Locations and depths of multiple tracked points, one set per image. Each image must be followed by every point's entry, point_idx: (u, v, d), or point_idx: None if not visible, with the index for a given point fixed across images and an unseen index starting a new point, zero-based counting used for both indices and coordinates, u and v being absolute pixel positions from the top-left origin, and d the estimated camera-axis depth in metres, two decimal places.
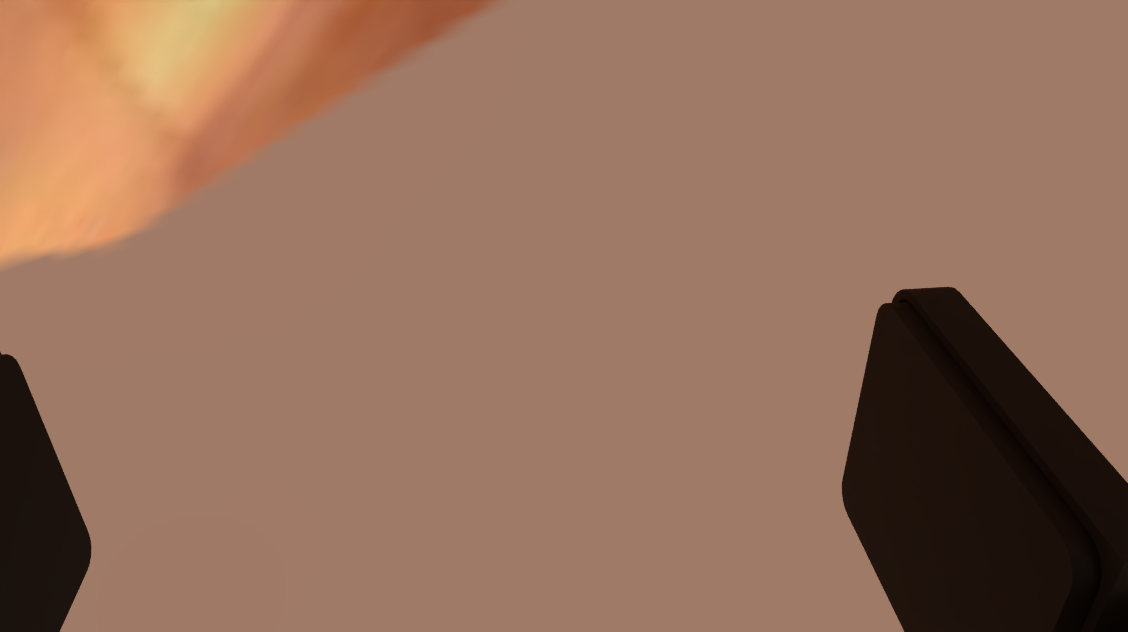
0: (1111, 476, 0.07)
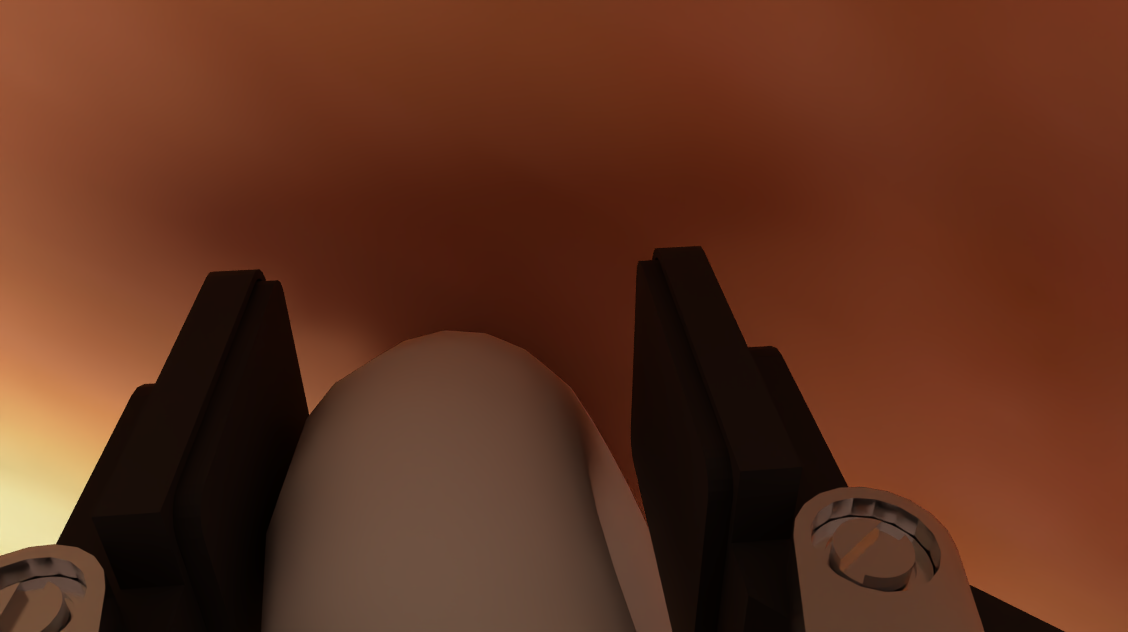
0: (765, 402, 0.08)
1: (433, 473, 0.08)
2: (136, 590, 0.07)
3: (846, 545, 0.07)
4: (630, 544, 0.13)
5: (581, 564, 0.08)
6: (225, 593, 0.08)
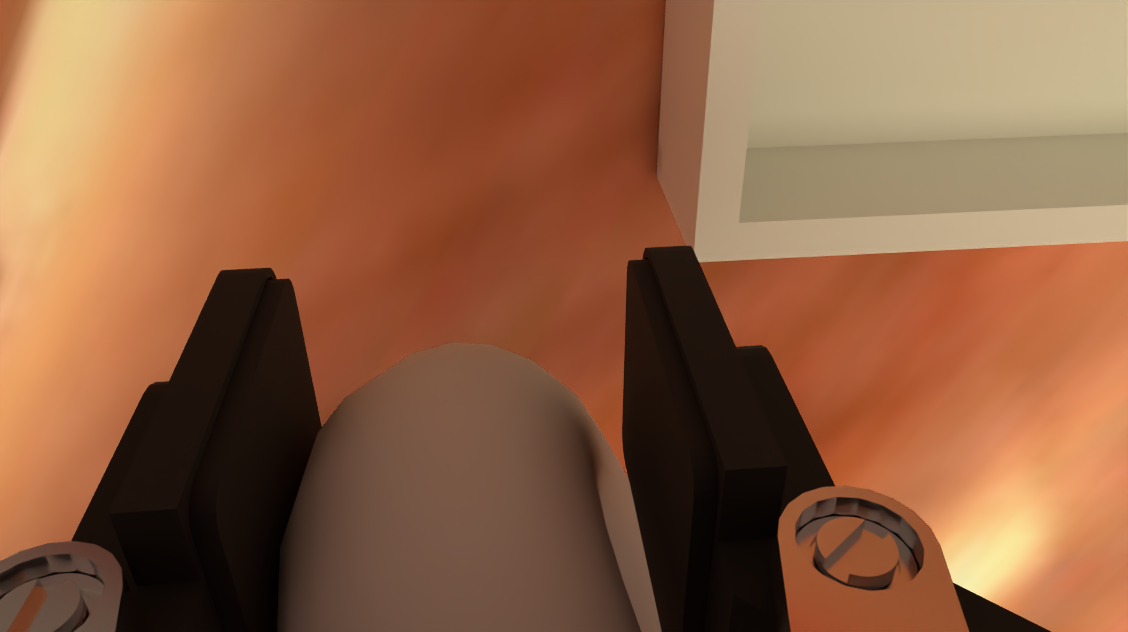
0: (752, 401, 0.08)
1: (444, 487, 0.08)
2: (152, 586, 0.07)
3: (831, 544, 0.07)
4: (638, 550, 0.13)
5: (590, 576, 0.08)
6: (240, 590, 0.08)
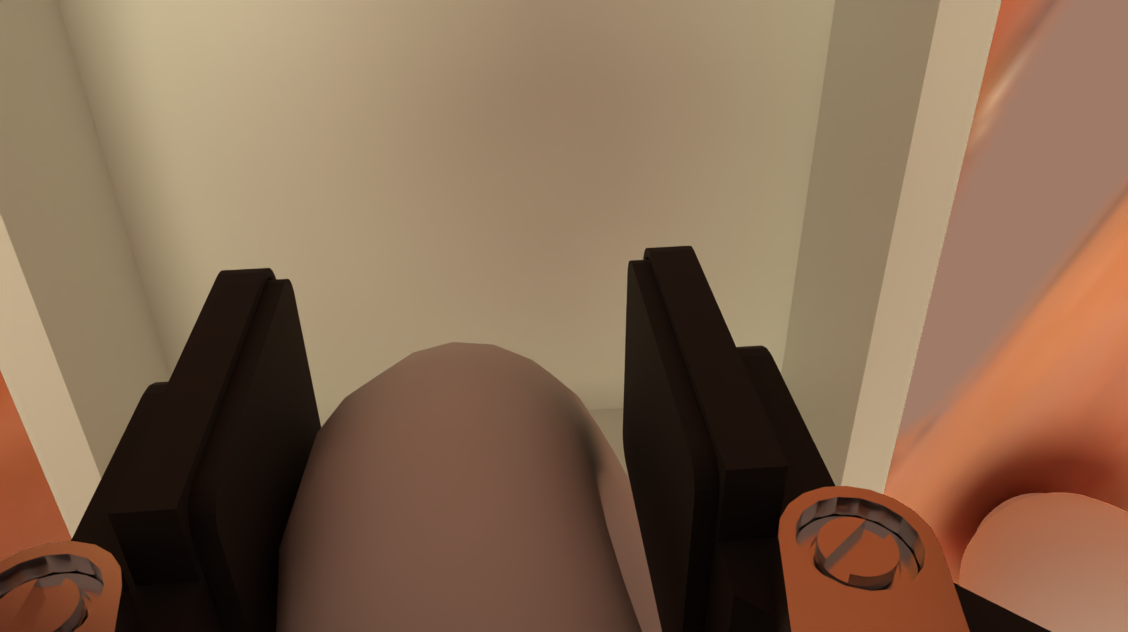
0: (752, 401, 0.08)
1: (443, 488, 0.08)
2: (152, 586, 0.07)
3: (831, 543, 0.07)
4: (638, 551, 0.13)
5: (590, 576, 0.08)
6: (239, 590, 0.08)
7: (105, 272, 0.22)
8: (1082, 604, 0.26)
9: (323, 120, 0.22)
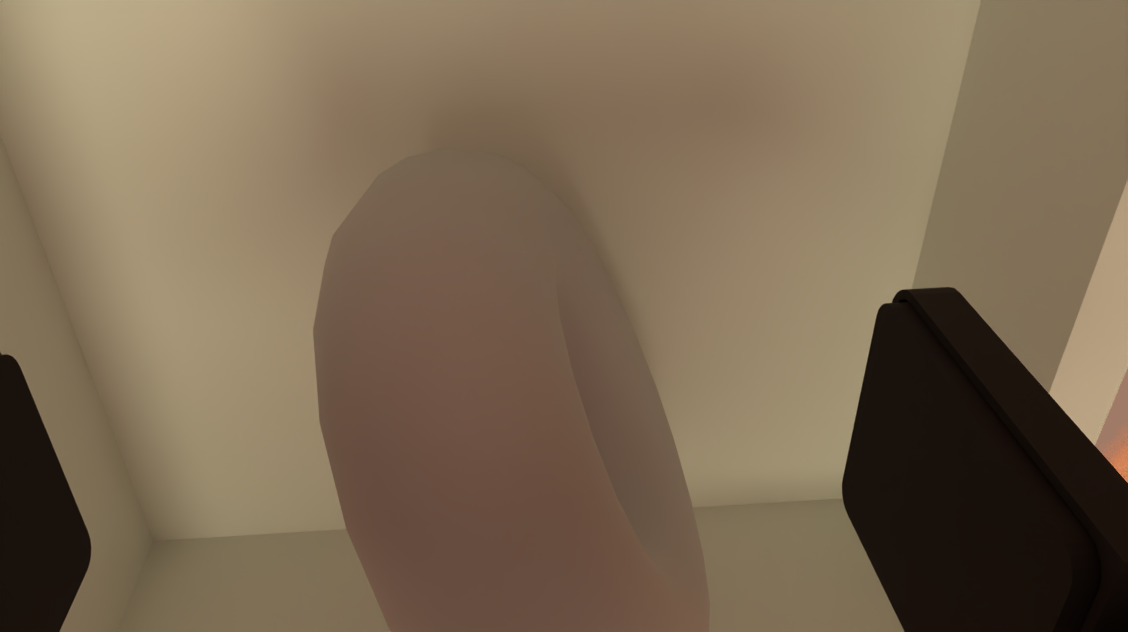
0: (1110, 476, 0.07)
1: (426, 214, 0.12)
2: None
3: None
4: (612, 333, 0.17)
5: (520, 277, 0.12)
6: None
7: (32, 370, 0.17)
8: None
9: (310, 178, 0.18)
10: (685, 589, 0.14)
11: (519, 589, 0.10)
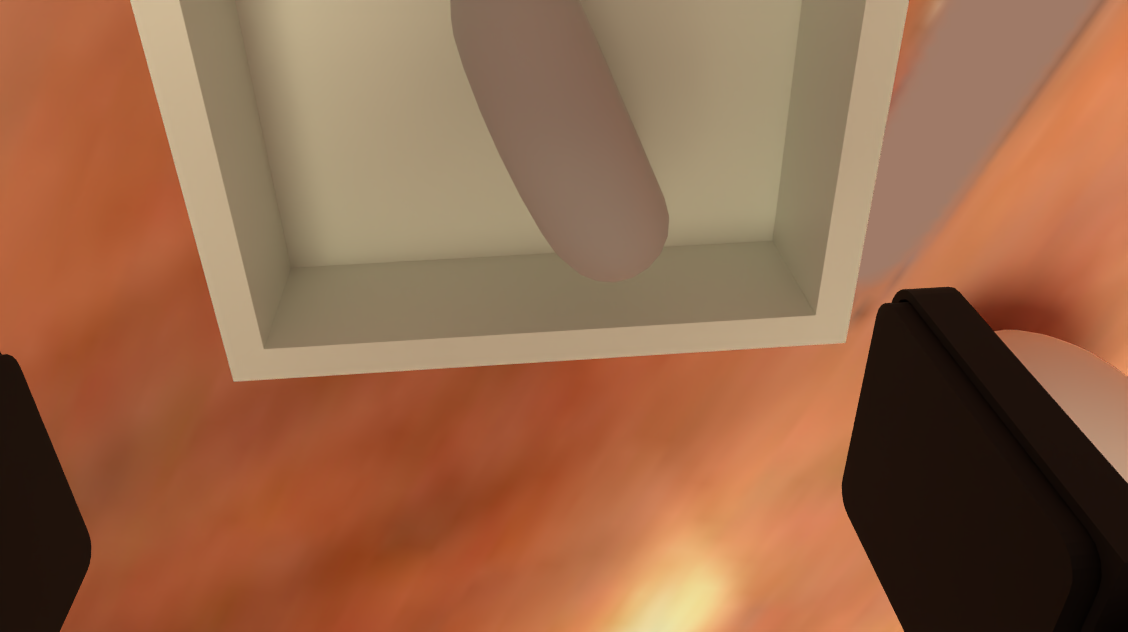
0: (1111, 476, 0.07)
1: None
2: None
3: None
4: None
5: None
6: None
7: (241, 109, 0.28)
8: None
9: None
10: None
11: (575, 108, 0.21)
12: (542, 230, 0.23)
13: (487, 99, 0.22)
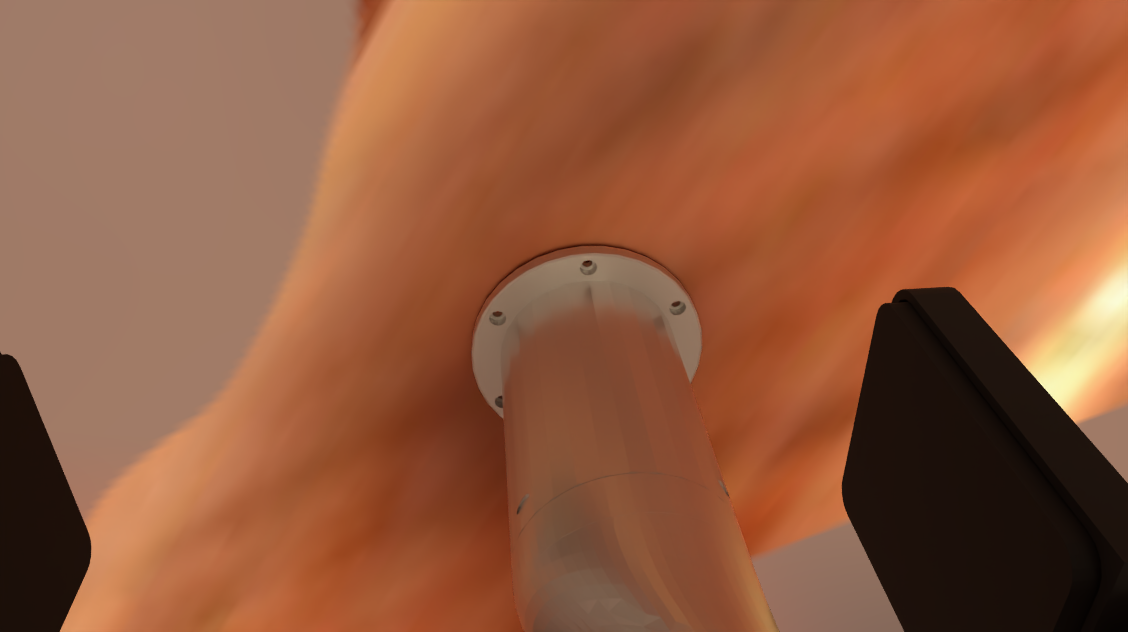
0: (1111, 476, 0.07)
1: None
2: None
3: None
4: None
5: None
6: None
7: None
8: None
9: None
10: None
11: None
12: None
13: None
